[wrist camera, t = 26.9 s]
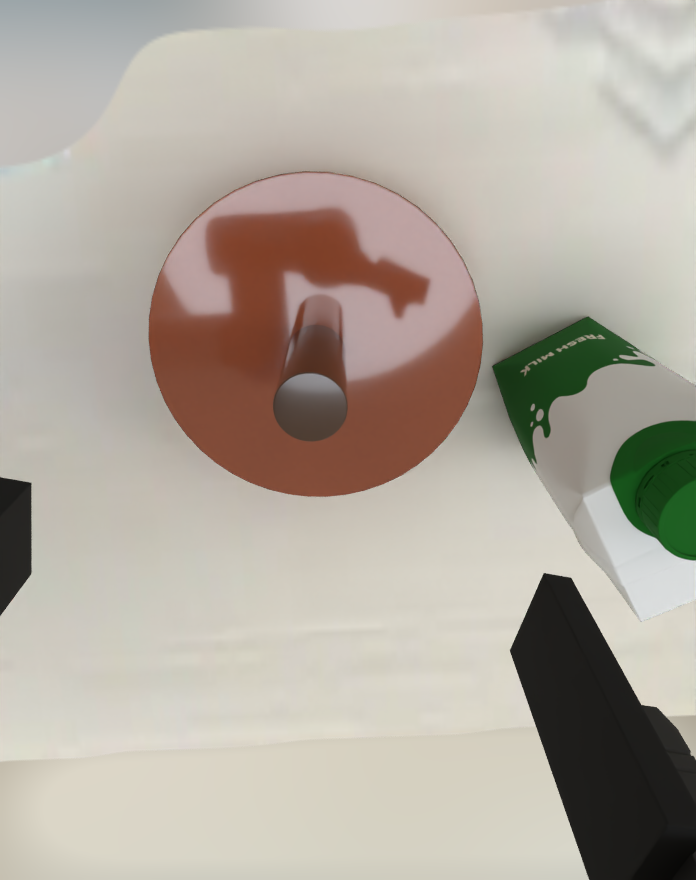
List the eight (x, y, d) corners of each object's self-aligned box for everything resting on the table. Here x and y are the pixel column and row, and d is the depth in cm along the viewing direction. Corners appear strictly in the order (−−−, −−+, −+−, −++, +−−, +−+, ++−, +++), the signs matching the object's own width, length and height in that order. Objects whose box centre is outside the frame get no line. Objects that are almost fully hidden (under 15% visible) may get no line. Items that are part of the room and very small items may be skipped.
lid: (142, 457, 37) (85, 545, 29) (170, 131, 29) (103, 121, 21) (428, 510, 39) (453, 606, 30) (523, 216, 31) (590, 237, 23)
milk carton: (596, 296, 39) (817, 414, 21) (639, 408, 43) (862, 592, 25) (473, 361, 41) (580, 521, 23) (524, 464, 44) (653, 674, 26)
